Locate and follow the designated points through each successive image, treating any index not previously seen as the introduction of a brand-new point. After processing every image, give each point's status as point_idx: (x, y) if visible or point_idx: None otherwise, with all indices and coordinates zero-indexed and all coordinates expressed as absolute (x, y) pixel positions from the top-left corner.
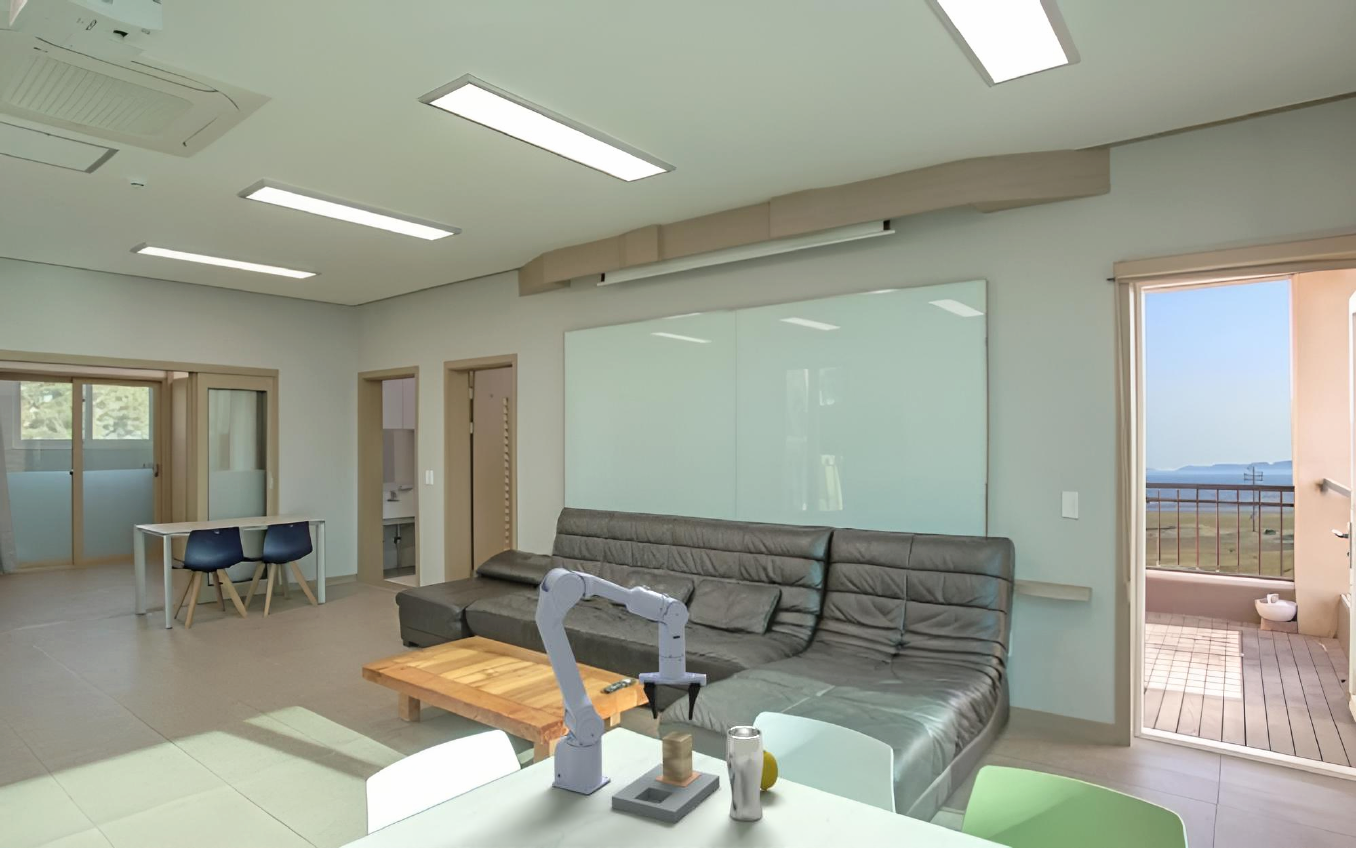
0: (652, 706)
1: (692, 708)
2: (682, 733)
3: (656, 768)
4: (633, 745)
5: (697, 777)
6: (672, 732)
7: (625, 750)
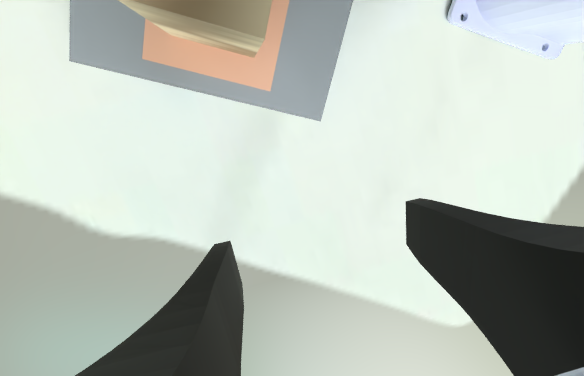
0: (479, 216)
1: (190, 279)
2: (186, 7)
3: (322, 74)
4: (425, 269)
5: (146, 21)
6: (262, 14)
7: None
